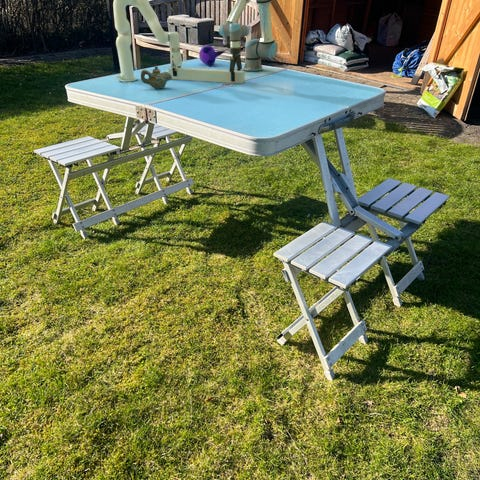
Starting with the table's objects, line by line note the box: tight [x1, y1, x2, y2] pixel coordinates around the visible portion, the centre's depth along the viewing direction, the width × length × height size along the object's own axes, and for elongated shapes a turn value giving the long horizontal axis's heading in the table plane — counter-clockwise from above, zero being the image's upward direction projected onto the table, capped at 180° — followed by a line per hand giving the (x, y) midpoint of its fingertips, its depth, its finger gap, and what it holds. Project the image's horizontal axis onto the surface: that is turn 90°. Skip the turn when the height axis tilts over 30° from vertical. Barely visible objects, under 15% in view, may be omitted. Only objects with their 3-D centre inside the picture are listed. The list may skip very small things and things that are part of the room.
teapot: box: [140, 65, 172, 90], centre depth 311 cm, size 21×12×15 cm, turn 109°
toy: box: [198, 45, 226, 67], centre depth 391 cm, size 16×18×27 cm
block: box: [167, 67, 246, 84], centre depth 335 cm, size 60×6×8 cm, turn 69°
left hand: (177, 75), depth 344 cm, fingers closed on block, 6 cm apart
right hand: (236, 79), depth 328 cm, fingers open, 11 cm apart
